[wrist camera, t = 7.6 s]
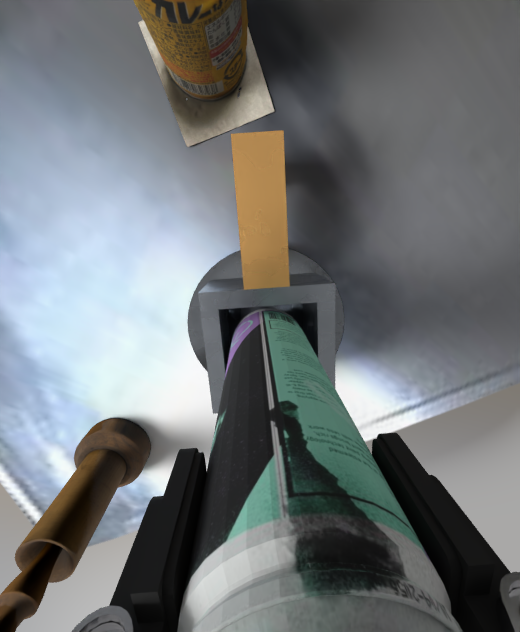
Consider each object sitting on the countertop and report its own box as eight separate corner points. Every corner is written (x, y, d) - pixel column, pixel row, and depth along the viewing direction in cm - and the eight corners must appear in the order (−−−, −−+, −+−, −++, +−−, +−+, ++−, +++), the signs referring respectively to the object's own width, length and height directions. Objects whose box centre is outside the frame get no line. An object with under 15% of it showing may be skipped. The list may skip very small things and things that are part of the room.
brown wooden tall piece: (127, 481, 31) (-32, 791, 14) (74, 449, 30) (-176, 746, 12) (163, 440, 30) (40, 724, 12) (109, 405, 29) (-111, 666, 11)
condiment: (233, -19, 20) (208, -365, 9) (274, 112, 22) (298, -24, 11) (139, 24, 21) (-5, -248, 9) (188, 148, 23) (122, 56, 11)
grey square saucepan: (342, 157, 23) (379, 124, 16) (340, 385, 29) (367, 430, 22) (168, 168, 23) (134, 140, 16) (200, 395, 28) (183, 444, 22)
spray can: (222, 320, 21) (-53, 1091, 2) (293, 298, 21) (749, 954, 2) (244, 383, 23) (207, 1194, 3) (311, 364, 22) (676, 1127, 3)
